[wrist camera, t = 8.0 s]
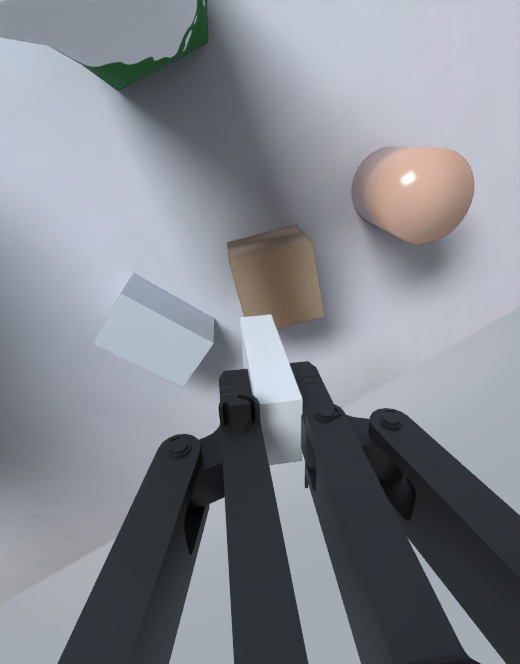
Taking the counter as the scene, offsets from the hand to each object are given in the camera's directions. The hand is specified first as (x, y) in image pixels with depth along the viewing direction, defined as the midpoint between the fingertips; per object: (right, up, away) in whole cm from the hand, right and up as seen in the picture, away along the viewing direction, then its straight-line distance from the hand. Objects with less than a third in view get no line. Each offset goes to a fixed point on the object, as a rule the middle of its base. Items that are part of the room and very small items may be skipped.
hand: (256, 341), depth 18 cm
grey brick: (-9, +2, +16) cm, 18 cm away
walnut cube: (+1, +6, +15) cm, 16 cm away
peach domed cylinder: (+11, +12, +13) cm, 21 cm away
